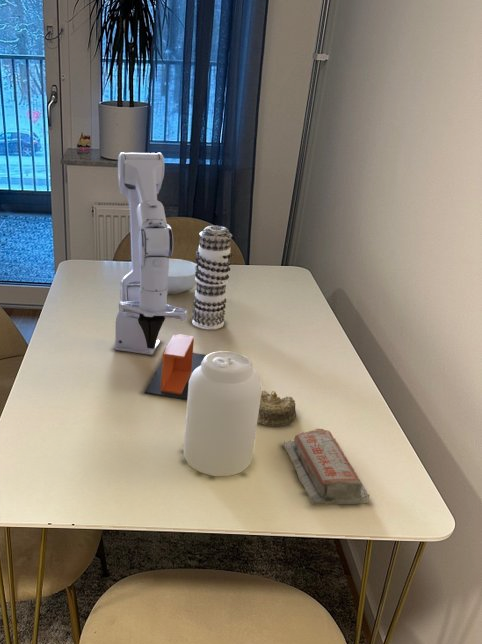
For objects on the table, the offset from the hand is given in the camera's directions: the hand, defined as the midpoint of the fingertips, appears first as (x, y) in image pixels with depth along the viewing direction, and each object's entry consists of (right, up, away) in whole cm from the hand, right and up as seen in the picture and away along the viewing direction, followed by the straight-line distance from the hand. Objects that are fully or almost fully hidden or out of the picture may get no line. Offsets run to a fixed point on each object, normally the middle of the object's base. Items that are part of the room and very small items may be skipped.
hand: (151, 346), depth 141 cm
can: (+12, -23, -22) cm, 34 cm away
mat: (+10, -6, +5) cm, 13 cm away
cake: (+25, -15, -8) cm, 30 cm away
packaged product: (+30, -26, -25) cm, 47 cm away
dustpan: (+6, -6, +4) cm, 10 cm away
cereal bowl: (+6, +22, +51) cm, 56 cm away
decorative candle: (+15, +10, +31) cm, 36 cm away
